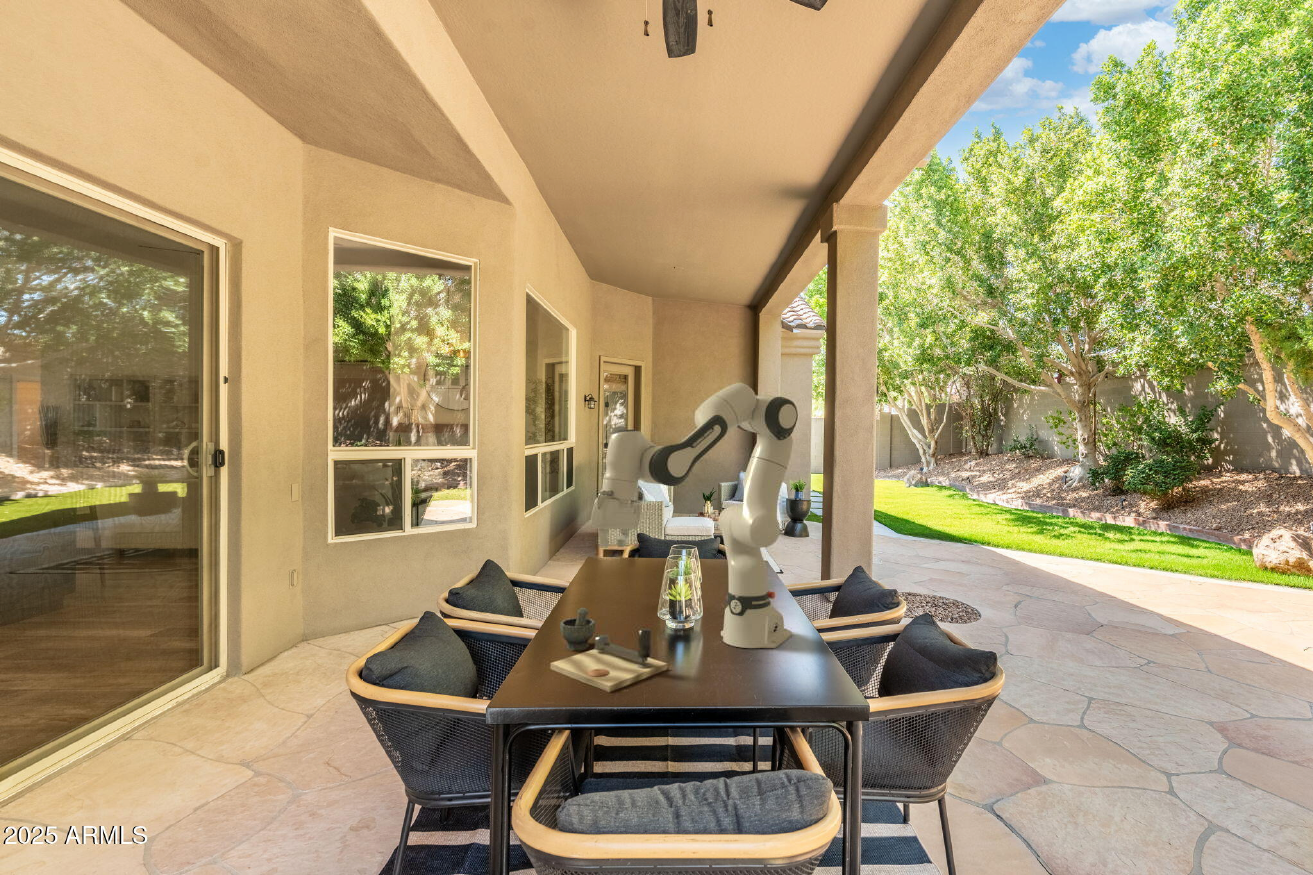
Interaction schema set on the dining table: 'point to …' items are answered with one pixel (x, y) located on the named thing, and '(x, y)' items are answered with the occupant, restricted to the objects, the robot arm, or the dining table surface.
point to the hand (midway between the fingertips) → (612, 547)
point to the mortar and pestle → (578, 630)
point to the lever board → (606, 669)
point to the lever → (639, 656)
